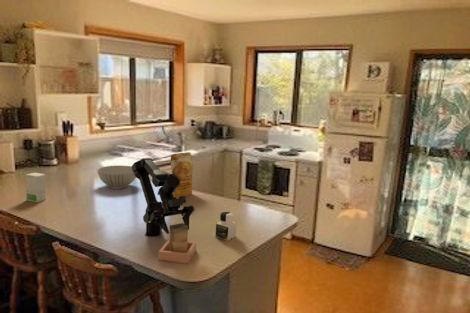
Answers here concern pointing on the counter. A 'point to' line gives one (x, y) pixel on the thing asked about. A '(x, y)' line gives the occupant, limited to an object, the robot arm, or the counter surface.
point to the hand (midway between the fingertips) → (178, 231)
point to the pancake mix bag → (182, 173)
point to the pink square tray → (177, 253)
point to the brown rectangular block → (178, 238)
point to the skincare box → (35, 187)
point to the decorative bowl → (116, 176)
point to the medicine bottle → (226, 226)
